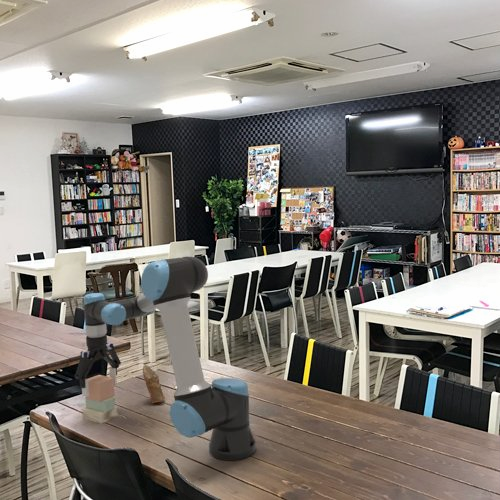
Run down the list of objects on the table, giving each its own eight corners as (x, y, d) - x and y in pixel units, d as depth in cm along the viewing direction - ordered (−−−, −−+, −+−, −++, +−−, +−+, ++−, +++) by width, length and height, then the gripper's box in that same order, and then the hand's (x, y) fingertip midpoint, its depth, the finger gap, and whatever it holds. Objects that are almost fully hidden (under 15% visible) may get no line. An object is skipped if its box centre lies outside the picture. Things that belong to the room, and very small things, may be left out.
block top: (95, 403, 221) (94, 393, 221) (115, 407, 216) (114, 397, 216) (85, 407, 217) (85, 397, 217) (105, 412, 212) (104, 401, 212)
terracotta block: (100, 392, 222) (99, 374, 221) (114, 395, 217) (113, 378, 217) (85, 398, 216) (84, 380, 215) (100, 402, 212) (98, 383, 211)
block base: (99, 411, 223) (98, 402, 223) (117, 416, 218) (117, 406, 217) (83, 419, 216) (82, 409, 216) (101, 424, 211) (100, 414, 210)
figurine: (163, 405, 227) (161, 368, 225) (142, 405, 227) (140, 368, 225) (166, 397, 235) (165, 361, 233) (147, 397, 235) (145, 362, 233)
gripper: (114, 326, 227) (117, 378, 229) (62, 341, 206) (66, 398, 209) (128, 328, 222) (131, 381, 225) (75, 344, 202) (79, 402, 204)
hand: (99, 390), depth 217 cm, fingers open, 13 cm apart
